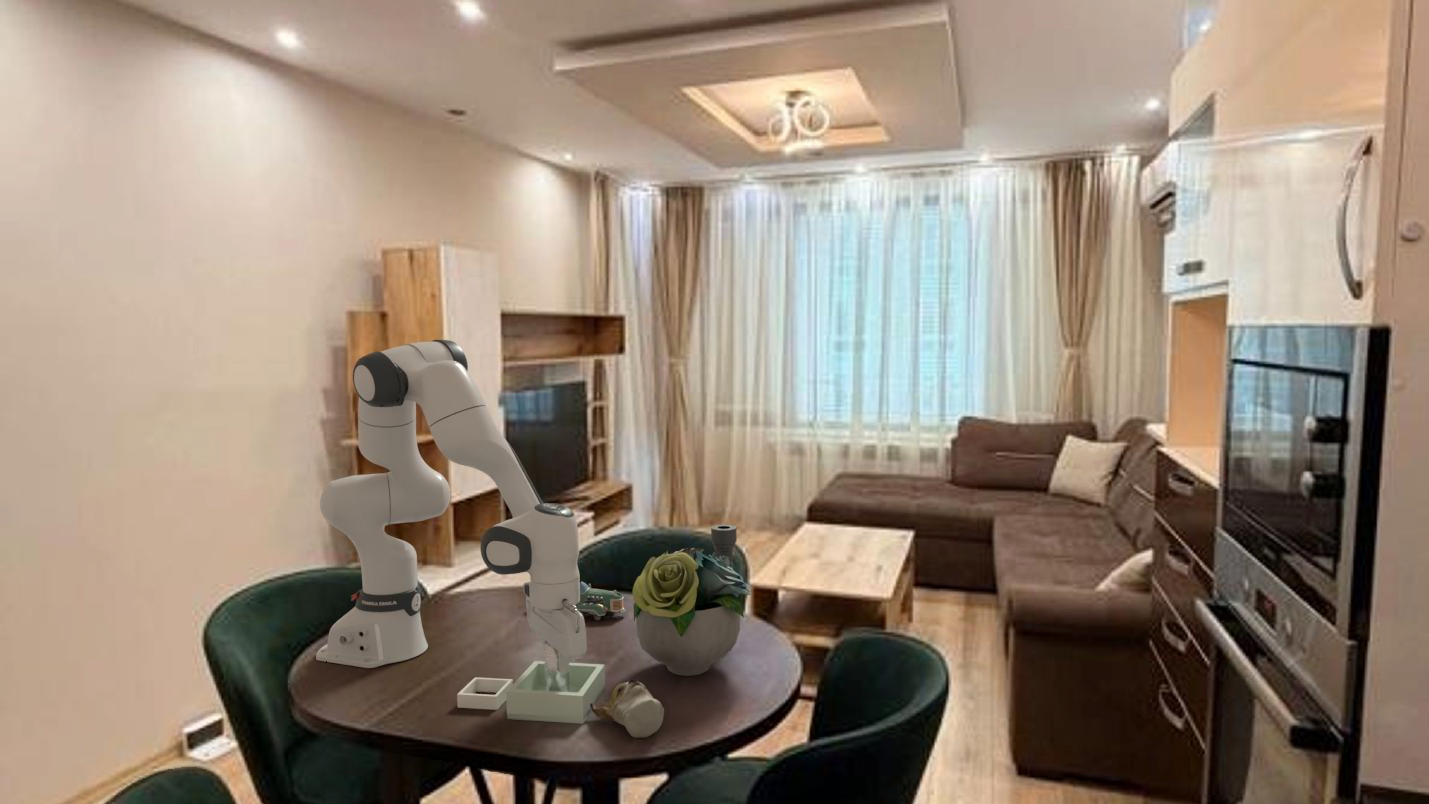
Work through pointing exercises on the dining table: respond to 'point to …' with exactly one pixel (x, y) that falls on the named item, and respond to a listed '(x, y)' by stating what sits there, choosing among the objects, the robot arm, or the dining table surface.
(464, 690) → the socket collar
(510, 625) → the dining table surface
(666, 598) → the flower arrangement
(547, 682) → the clear glass cylinder
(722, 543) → the candle holder
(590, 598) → the green metal elongated vehicle
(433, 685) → the dining table surface
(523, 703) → the tray
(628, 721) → the ceramic sculpture
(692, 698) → the dining table surface
